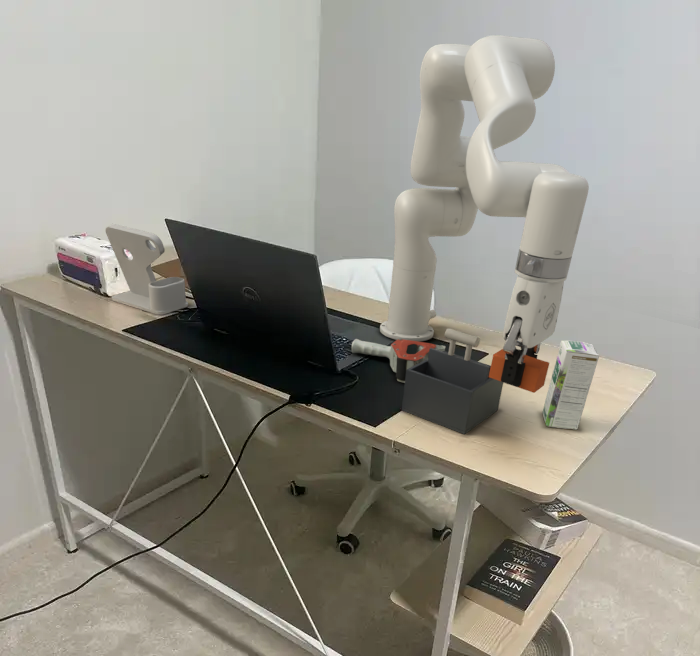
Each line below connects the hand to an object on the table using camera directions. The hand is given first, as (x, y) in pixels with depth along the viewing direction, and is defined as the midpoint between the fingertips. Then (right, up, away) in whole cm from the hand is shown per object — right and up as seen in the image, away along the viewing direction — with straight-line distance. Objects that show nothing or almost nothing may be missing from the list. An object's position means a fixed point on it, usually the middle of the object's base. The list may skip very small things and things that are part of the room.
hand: (516, 378), depth 106 cm
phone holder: (-75, +25, +55) cm, 96 cm away
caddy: (-8, -4, +15) cm, 18 cm away
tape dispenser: (-16, +7, +31) cm, 36 cm away
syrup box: (+12, -6, +14) cm, 19 cm away
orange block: (0, 0, 0) cm, 0 cm away
